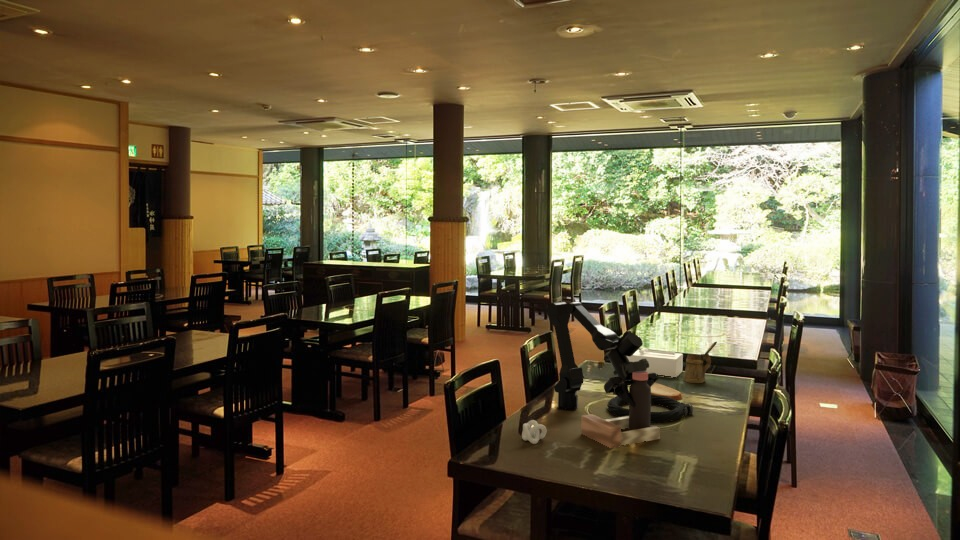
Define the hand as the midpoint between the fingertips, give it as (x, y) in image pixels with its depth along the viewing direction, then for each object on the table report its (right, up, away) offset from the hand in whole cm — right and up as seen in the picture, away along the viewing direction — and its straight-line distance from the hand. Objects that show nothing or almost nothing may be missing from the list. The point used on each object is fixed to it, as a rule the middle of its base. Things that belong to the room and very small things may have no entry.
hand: (642, 405), depth 202 cm
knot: (-36, -10, -6) cm, 38 cm away
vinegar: (-1, -10, +2) cm, 10 cm away
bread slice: (+19, -7, +51) cm, 55 cm away
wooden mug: (+43, -5, +71) cm, 83 cm away
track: (-8, -10, -1) cm, 12 cm away
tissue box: (+27, -4, +90) cm, 94 cm away
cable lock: (+9, -9, +26) cm, 29 cm away
